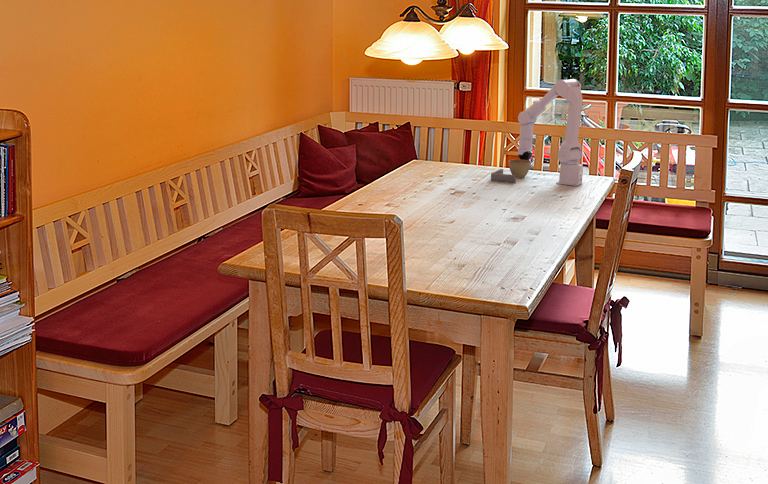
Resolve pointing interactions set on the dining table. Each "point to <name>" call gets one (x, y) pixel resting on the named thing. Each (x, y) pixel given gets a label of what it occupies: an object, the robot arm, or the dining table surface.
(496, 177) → the keeper bracket
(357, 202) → the dining table surface
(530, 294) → the dining table surface
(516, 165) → the flower pot
